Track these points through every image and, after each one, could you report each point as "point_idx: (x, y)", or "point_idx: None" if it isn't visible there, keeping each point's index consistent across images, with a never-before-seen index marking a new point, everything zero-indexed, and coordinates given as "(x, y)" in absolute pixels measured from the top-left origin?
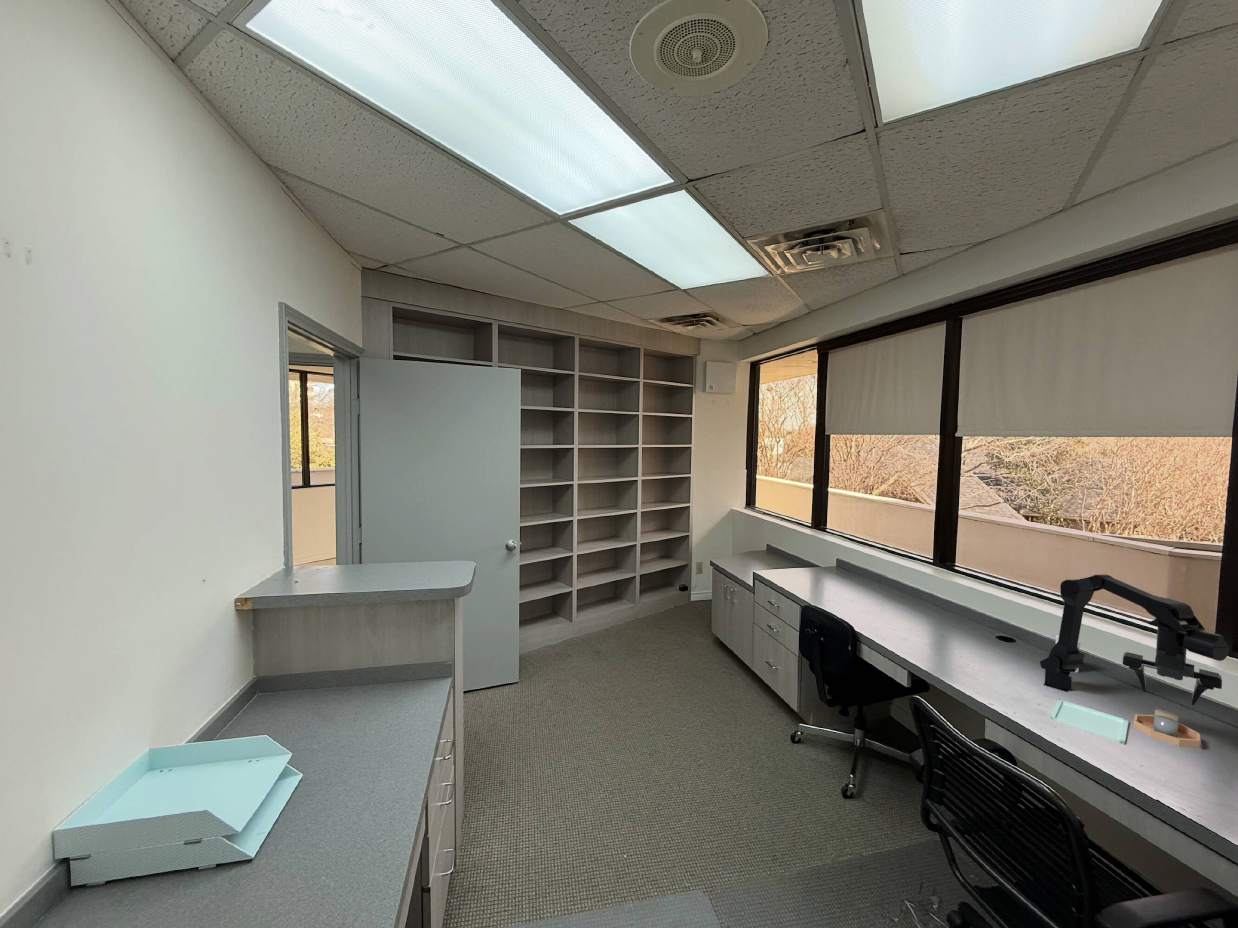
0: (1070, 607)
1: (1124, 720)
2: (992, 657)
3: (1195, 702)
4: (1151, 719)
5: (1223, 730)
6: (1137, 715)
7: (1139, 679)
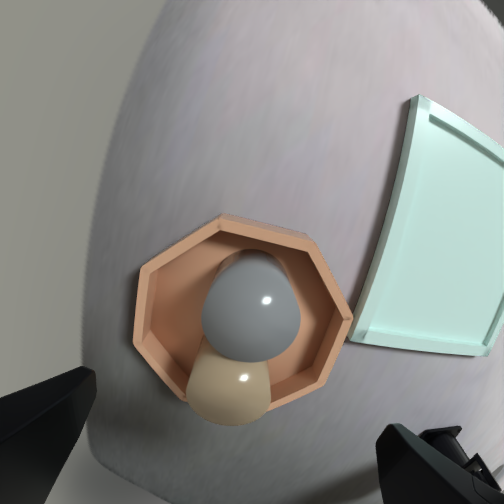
0: None
1: (366, 327)
2: None
3: (57, 376)
4: None
5: (93, 430)
6: (317, 380)
7: (481, 481)
